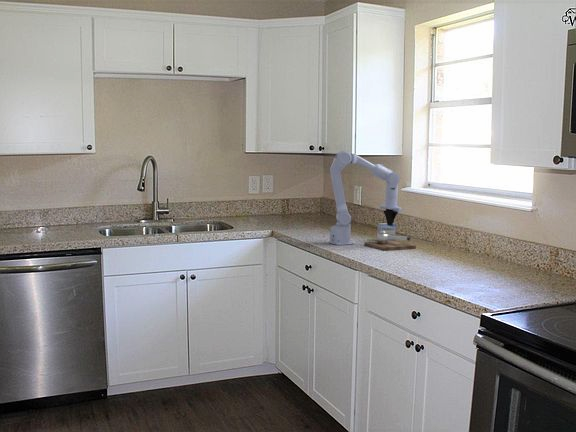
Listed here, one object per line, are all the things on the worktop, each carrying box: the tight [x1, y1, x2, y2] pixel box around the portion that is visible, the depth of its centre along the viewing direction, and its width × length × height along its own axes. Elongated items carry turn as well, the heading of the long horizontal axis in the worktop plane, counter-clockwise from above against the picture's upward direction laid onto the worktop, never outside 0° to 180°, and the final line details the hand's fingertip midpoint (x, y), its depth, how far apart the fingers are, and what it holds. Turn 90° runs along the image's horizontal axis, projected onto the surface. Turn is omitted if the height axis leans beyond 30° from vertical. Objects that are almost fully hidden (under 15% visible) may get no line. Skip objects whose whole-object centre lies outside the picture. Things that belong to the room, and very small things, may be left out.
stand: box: [363, 240, 417, 252], centre depth 311 cm, size 18×16×2 cm
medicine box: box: [376, 222, 396, 241], centre depth 330 cm, size 8×4×9 cm, turn 105°
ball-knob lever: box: [376, 231, 411, 244], centre depth 310 cm, size 16×5×6 cm, turn 78°
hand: (389, 225), depth 317 cm, fingers closed
